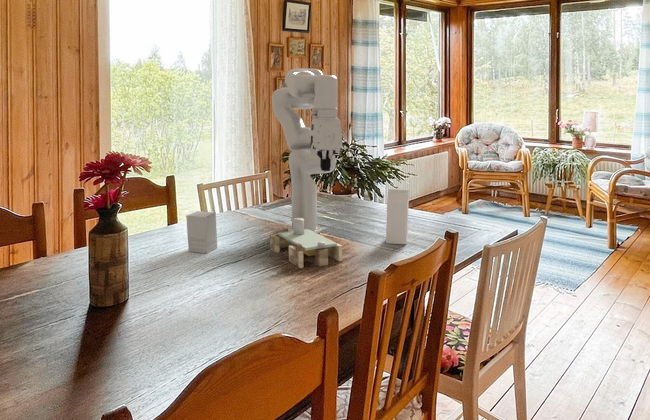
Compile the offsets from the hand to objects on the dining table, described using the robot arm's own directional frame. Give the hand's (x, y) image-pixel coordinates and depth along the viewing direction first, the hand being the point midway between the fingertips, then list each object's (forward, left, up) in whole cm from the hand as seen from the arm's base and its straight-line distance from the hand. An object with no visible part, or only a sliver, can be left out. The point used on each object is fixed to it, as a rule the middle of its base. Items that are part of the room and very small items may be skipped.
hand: (325, 170), depth 182 cm
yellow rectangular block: (+1, -7, -27) cm, 28 cm away
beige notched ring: (+3, -9, -27) cm, 29 cm away
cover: (+5, -9, -22) cm, 24 cm away
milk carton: (+4, +27, -27) cm, 39 cm away
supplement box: (-19, -37, -27) cm, 50 cm away
